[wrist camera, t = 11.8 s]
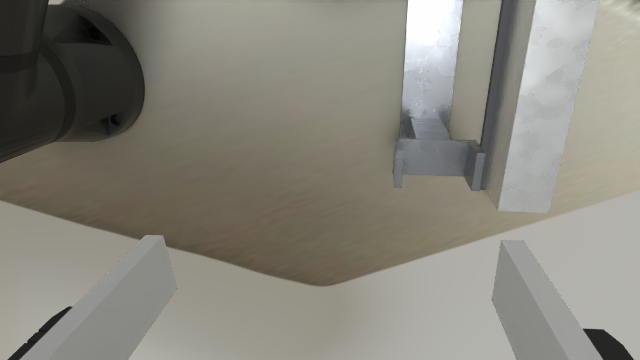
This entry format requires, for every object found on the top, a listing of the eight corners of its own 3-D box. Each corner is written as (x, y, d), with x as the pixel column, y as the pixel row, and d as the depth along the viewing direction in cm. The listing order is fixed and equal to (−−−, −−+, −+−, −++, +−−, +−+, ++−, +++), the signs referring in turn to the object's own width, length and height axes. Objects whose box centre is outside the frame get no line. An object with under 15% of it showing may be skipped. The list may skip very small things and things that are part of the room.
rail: (482, 185, 41) (497, 210, 36) (528, -99, 31) (558, -123, 26) (526, 187, 41) (548, 213, 35) (587, -103, 31) (631, -129, 25)
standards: (390, 147, 42) (393, 191, 31) (401, -62, 34) (410, -100, 23) (453, 148, 41) (479, 195, 30) (480, -66, 33) (527, -109, 22)
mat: (474, 187, 42) (475, 189, 42) (517, -103, 32) (519, -105, 31) (534, 189, 41) (536, 191, 41) (600, -109, 31) (604, -111, 30)
